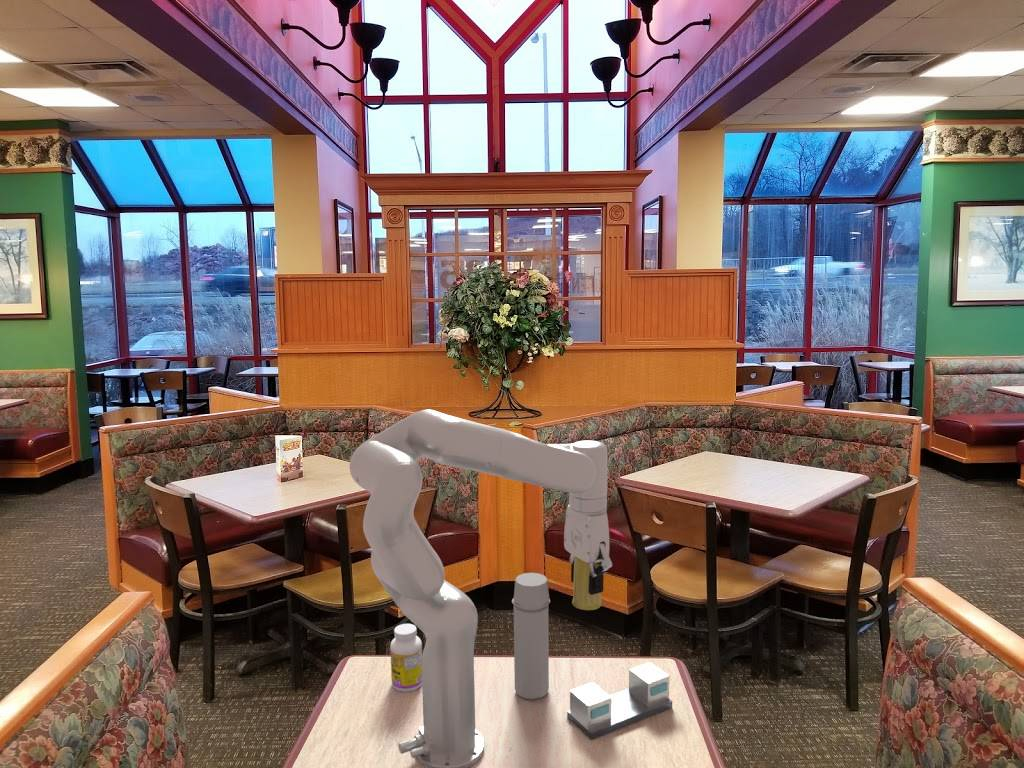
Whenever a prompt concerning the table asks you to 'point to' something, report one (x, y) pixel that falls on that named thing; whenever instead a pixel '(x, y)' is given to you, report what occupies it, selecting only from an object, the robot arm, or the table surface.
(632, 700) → the rail board
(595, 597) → the vase
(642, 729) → the table surface
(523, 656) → the water bottle
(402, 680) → the supplement bottle
